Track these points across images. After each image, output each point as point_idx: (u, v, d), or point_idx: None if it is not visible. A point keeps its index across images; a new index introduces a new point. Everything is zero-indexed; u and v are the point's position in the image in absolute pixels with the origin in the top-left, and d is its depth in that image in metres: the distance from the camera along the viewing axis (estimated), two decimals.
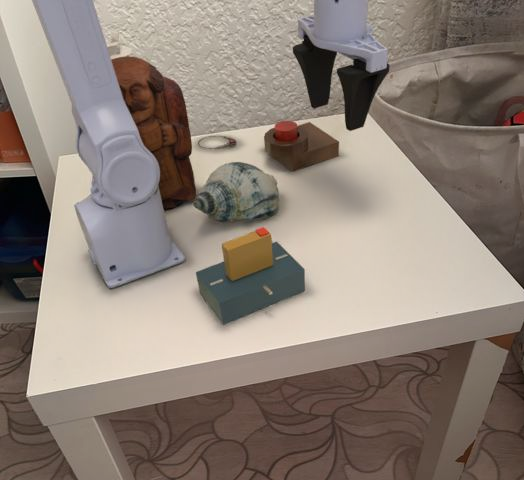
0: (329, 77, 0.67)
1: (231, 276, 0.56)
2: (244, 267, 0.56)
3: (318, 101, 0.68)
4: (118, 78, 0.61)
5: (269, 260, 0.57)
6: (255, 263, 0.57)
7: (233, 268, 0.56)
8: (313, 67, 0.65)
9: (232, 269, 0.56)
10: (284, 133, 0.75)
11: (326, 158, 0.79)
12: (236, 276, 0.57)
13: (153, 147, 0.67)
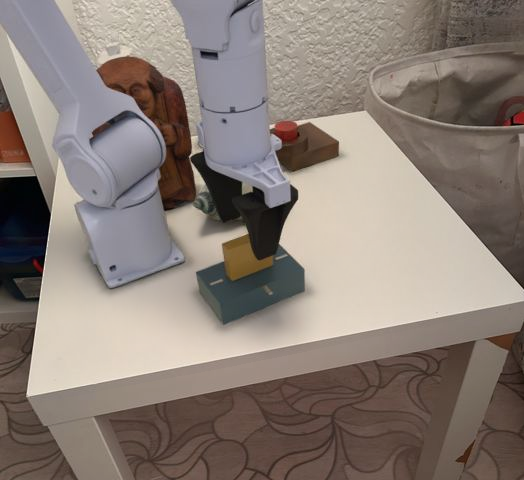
0: (239, 188, 0.55)
1: (231, 276, 0.56)
2: (244, 267, 0.56)
3: (228, 215, 0.57)
4: (118, 78, 0.61)
5: (269, 260, 0.57)
6: (255, 263, 0.57)
7: (233, 268, 0.56)
8: (216, 180, 0.54)
9: (232, 269, 0.56)
10: (284, 133, 0.75)
11: (326, 158, 0.79)
12: (236, 276, 0.57)
13: None
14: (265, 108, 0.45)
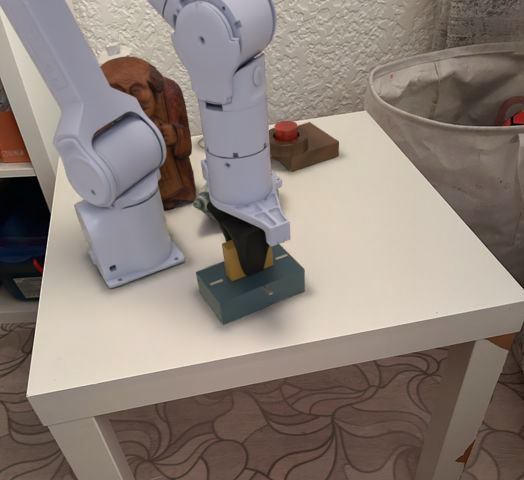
0: None
1: (231, 276, 0.56)
2: None
3: None
4: (118, 78, 0.61)
5: (269, 260, 0.57)
6: None
7: (233, 268, 0.56)
8: None
9: (232, 269, 0.56)
10: (284, 133, 0.75)
11: (326, 158, 0.79)
12: (236, 276, 0.57)
13: None
14: (267, 152, 0.47)
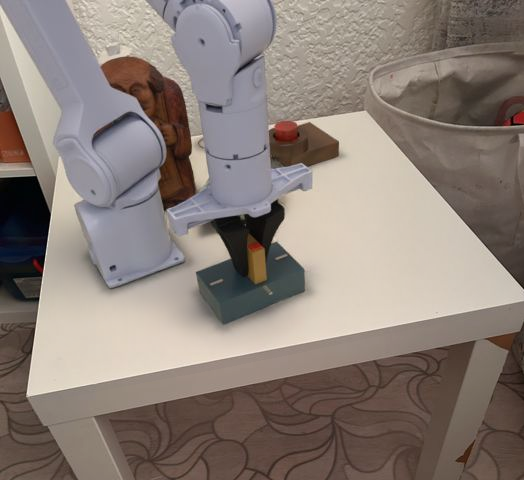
0: None
1: None
2: None
3: None
4: (118, 78, 0.61)
5: (252, 276, 0.56)
6: None
7: None
8: (248, 221, 0.55)
9: None
10: (284, 133, 0.75)
11: (326, 158, 0.79)
12: None
13: None
14: (225, 165, 0.47)
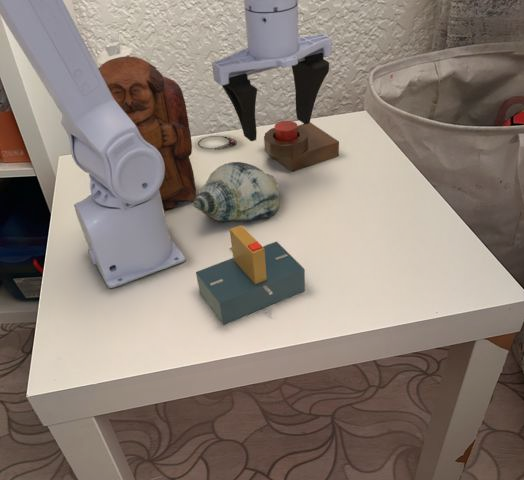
0: (307, 99, 0.66)
1: (233, 255, 0.59)
2: (239, 259, 0.57)
3: (299, 114, 0.69)
4: (118, 78, 0.61)
5: (252, 276, 0.56)
6: (244, 265, 0.57)
7: (233, 250, 0.58)
8: (297, 79, 0.66)
9: (233, 250, 0.58)
10: (284, 133, 0.75)
11: (326, 158, 0.79)
12: (235, 260, 0.59)
13: None
14: (261, 19, 0.57)
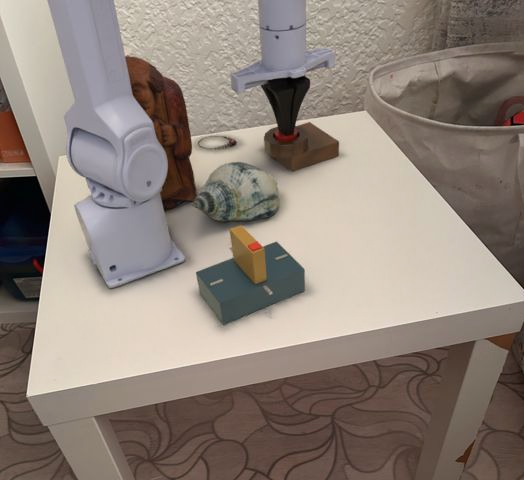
0: (291, 112, 0.74)
1: (233, 255, 0.59)
2: (239, 259, 0.57)
3: None
4: None
5: (252, 276, 0.56)
6: (244, 265, 0.57)
7: (233, 250, 0.58)
8: None
9: (233, 250, 0.58)
10: (284, 139, 0.76)
11: (326, 158, 0.79)
12: (235, 260, 0.59)
13: None
14: (274, 36, 0.65)
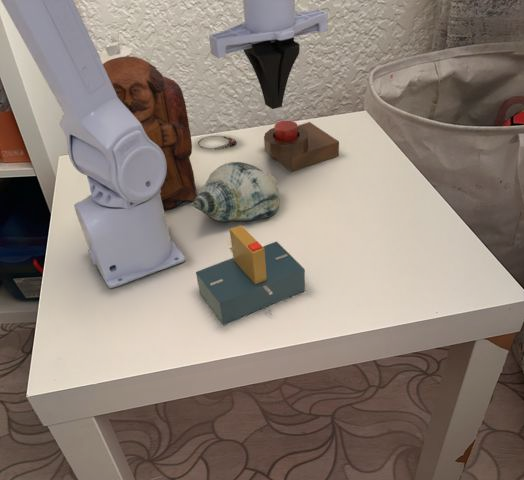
0: (279, 82, 0.66)
1: (233, 255, 0.59)
2: (239, 259, 0.57)
3: None
4: (118, 78, 0.61)
5: (252, 276, 0.56)
6: (244, 265, 0.57)
7: (233, 250, 0.58)
8: None
9: (233, 250, 0.58)
10: (284, 133, 0.75)
11: (326, 158, 0.79)
12: (235, 260, 0.59)
13: None
14: None
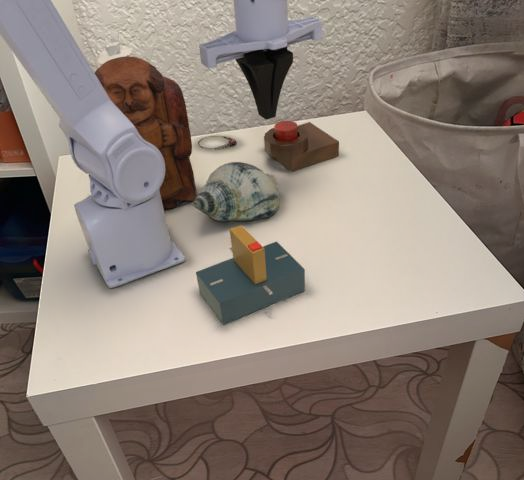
0: (272, 92, 0.64)
1: (233, 255, 0.59)
2: (239, 259, 0.57)
3: None
4: (118, 78, 0.61)
5: (252, 276, 0.56)
6: (244, 265, 0.57)
7: (233, 250, 0.58)
8: None
9: (233, 250, 0.58)
10: (284, 133, 0.75)
11: (326, 158, 0.79)
12: (235, 260, 0.59)
13: None
14: None
